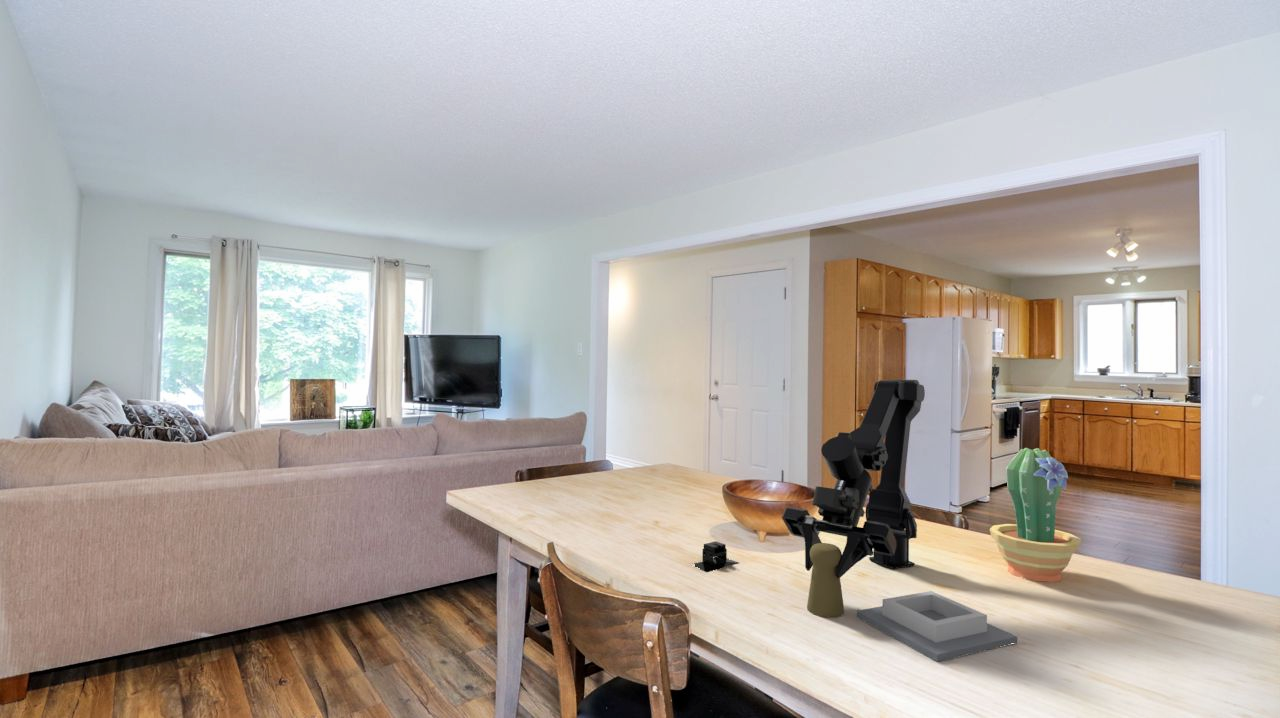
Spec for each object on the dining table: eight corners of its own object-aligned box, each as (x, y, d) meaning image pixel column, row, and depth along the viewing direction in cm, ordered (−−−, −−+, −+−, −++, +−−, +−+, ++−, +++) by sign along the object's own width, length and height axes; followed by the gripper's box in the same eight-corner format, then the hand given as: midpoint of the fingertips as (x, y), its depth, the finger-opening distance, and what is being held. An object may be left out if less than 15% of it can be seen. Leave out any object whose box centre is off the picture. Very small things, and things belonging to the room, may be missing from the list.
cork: (844, 605, 103) (844, 541, 103) (844, 619, 97) (844, 551, 97) (808, 601, 105) (808, 538, 105) (805, 614, 99) (806, 547, 99)
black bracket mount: (704, 577, 118) (704, 553, 118) (679, 567, 124) (679, 545, 124) (747, 565, 126) (747, 543, 126) (722, 556, 131) (722, 535, 131)
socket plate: (929, 603, 104) (929, 583, 104) (1017, 643, 89) (1017, 619, 90) (856, 616, 98) (856, 595, 99) (937, 661, 84) (937, 636, 84)
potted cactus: (993, 580, 116) (993, 450, 116) (986, 557, 130) (986, 441, 130) (1091, 593, 110) (1091, 456, 110) (1072, 568, 123) (1072, 446, 124)
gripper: (786, 462, 111) (755, 535, 102) (890, 475, 98) (864, 559, 90) (806, 498, 116) (777, 569, 108) (906, 515, 104) (883, 597, 96)
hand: (822, 573), depth 100 cm, fingers closed on cork, 5 cm apart
